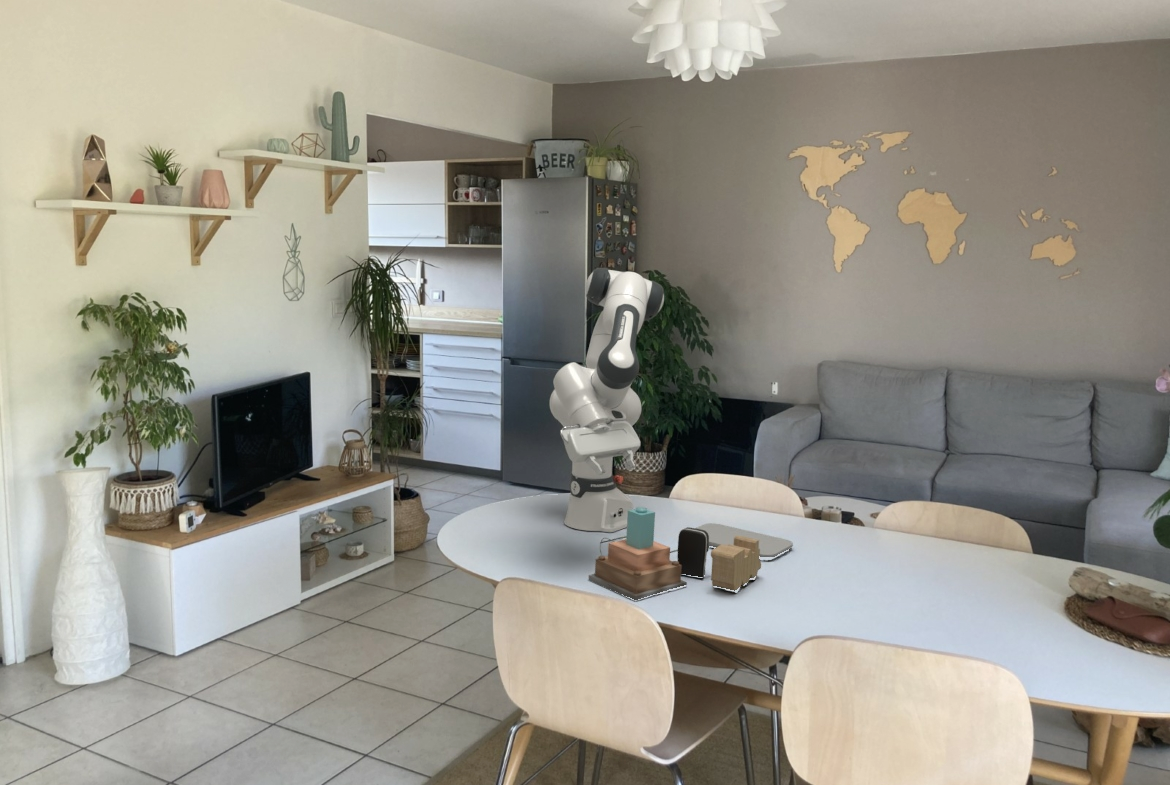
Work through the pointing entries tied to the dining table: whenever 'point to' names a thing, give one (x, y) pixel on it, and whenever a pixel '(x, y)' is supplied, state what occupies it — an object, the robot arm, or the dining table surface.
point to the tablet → (766, 543)
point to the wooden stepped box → (637, 570)
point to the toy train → (735, 563)
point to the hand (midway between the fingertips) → (616, 471)
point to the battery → (693, 551)
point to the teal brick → (640, 528)
